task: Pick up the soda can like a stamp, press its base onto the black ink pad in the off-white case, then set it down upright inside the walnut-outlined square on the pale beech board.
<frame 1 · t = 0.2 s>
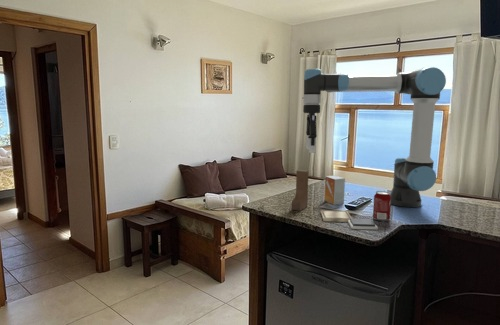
hand: (310, 150, 164), 28 cm above the counter, fingers open, 13 cm apart
ink pad: (362, 225, 145), on the counter
wooden block: (299, 208, 170), on the counter
soda can: (381, 219, 153), on the counter
small box: (334, 202, 180), on the counter
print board: (335, 217, 156), on the counter
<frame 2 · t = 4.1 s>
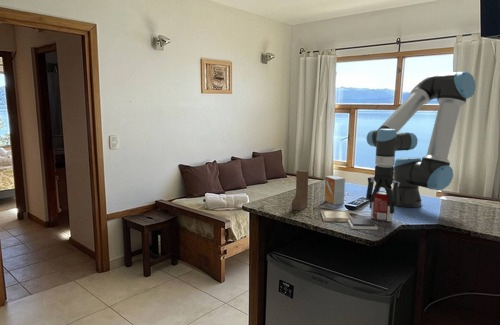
hand: (381, 218, 153), 1 cm above the counter, fingers closed on soda can, 7 cm apart
soda can: (381, 219, 153), on the counter, touching gripper
everything else where it was.
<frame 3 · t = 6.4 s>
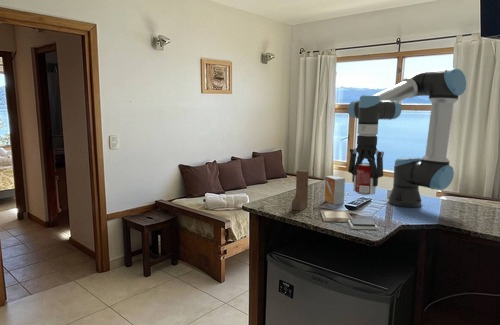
hand: (364, 192, 143), 14 cm above the counter, fingers closed on soda can, 7 cm apart
soda can: (363, 193, 143), point 13 cm above the counter, touching gripper
everything else where it was.
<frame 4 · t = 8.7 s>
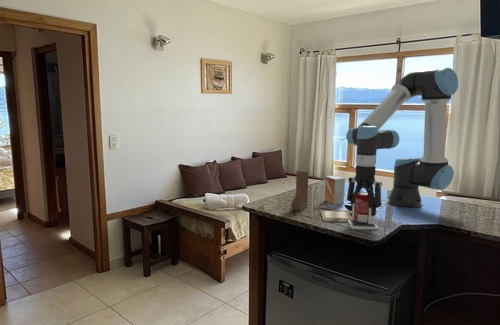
hand: (362, 220, 145), 2 cm above the counter, fingers closed on soda can, 7 cm apart
soda can: (362, 222, 145), point 2 cm above the counter, touching gripper, ink pad
everything else where it was.
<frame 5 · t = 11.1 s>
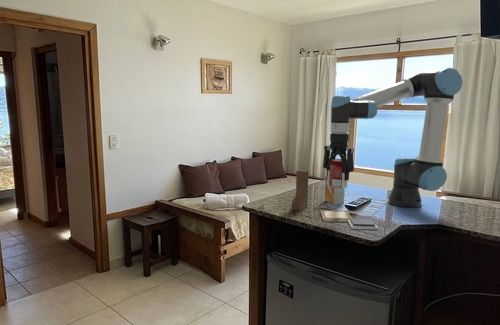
hand: (337, 186, 154), 14 cm above the counter, fingers closed on soda can, 7 cm apart
soda can: (336, 187, 154), point 13 cm above the counter, touching gripper
everything else where it was.
when the fingers open (3 cm above the counter, at t = 13.4 s): soda can drops 1 cm, resting on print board.
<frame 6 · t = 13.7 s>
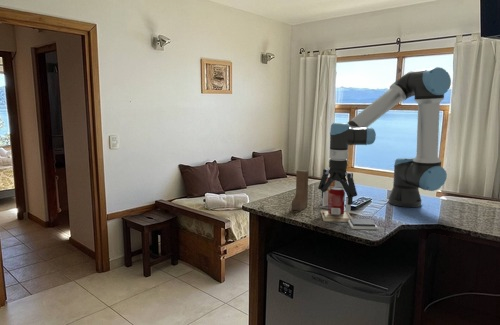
hand: (336, 208, 156), 4 cm above the counter, fingers open, 11 cm apart
soda can: (335, 215, 156), point 1 cm above the counter, touching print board
everything else where it was.
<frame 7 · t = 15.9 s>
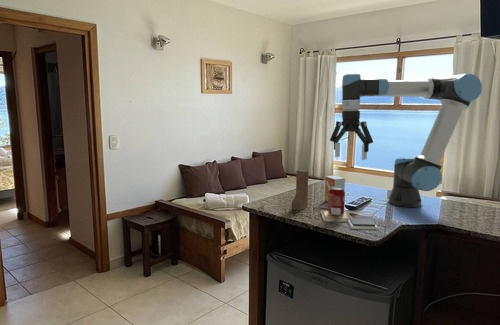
hand: (350, 158, 159), 25 cm above the counter, fingers open, 13 cm apart
nothing on the counter moved.
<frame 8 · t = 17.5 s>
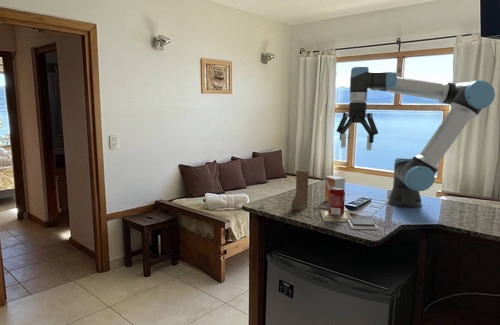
hand: (355, 148, 164), 29 cm above the counter, fingers open, 13 cm apart
nothing on the counter moved.
at the end: soda can inside the target area on the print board (0.0 cm from its centre), point 1.0 cm above the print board's base; soda can tilted 0°; the gripper is holding nothing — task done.
